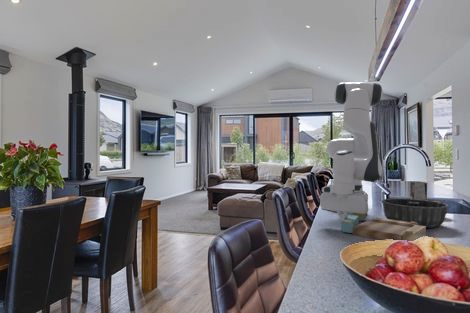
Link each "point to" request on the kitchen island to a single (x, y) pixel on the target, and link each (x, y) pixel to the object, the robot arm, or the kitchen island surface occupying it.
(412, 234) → the tan box with knobs
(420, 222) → the bundt pan
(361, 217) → the air freshener
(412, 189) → the coffee box
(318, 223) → the kitchen island surface
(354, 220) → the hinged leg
